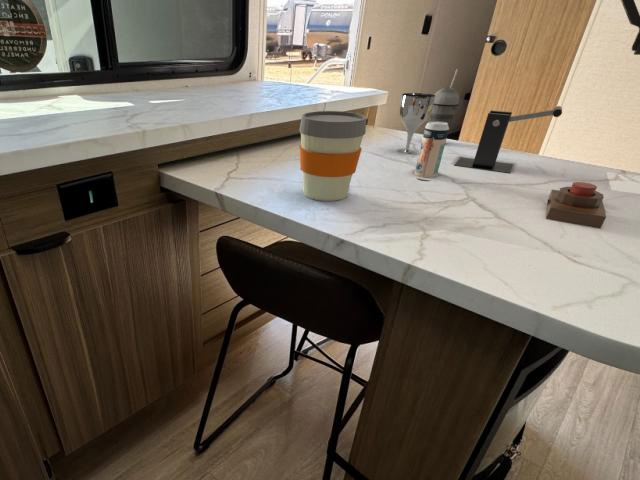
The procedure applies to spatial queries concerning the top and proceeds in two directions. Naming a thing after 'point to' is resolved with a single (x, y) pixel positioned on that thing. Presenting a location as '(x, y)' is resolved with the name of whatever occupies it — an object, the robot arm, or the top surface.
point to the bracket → (490, 145)
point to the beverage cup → (445, 104)
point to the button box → (576, 208)
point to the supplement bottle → (431, 149)
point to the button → (583, 189)
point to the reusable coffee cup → (330, 152)
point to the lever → (538, 114)
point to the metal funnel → (415, 112)
